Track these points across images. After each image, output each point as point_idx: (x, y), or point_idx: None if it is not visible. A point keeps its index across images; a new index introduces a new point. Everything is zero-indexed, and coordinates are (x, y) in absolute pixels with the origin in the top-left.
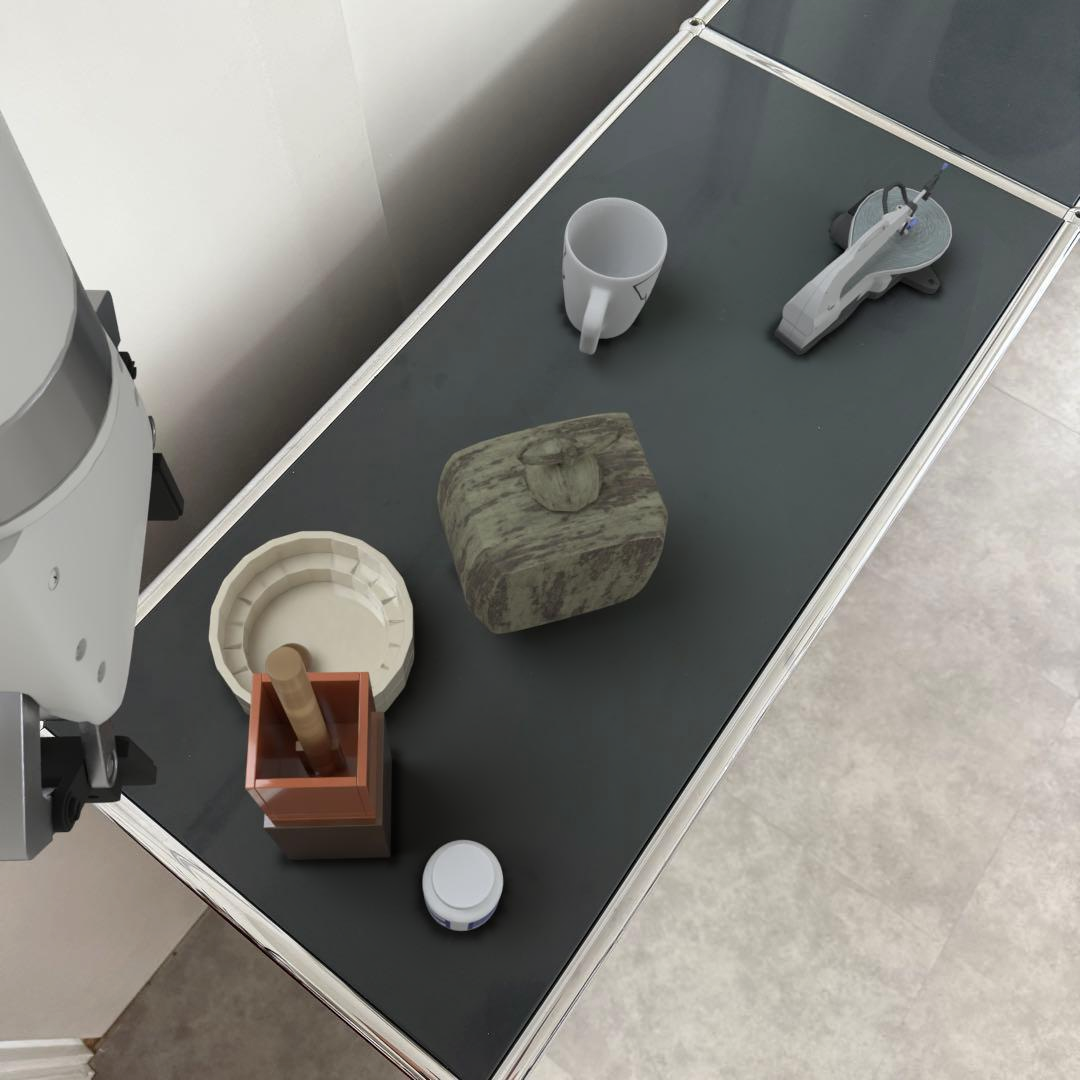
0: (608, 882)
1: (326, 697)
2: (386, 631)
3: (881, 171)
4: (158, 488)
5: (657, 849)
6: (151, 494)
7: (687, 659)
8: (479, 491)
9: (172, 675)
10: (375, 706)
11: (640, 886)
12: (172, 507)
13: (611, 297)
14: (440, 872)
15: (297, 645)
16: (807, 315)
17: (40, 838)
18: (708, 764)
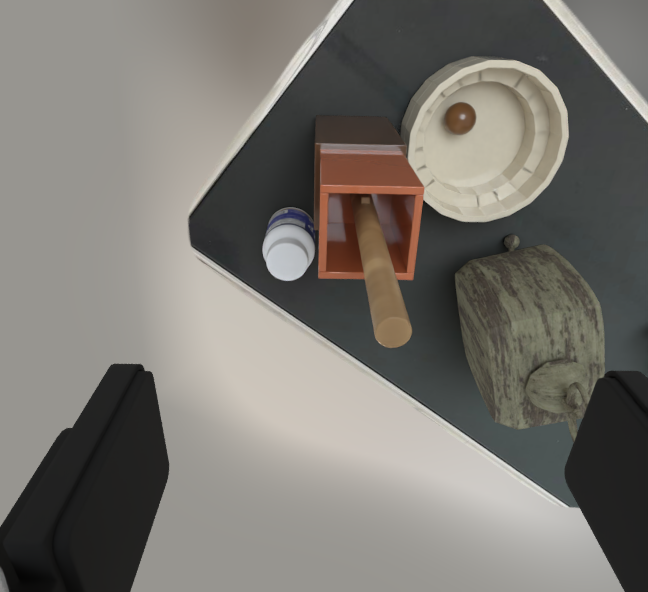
0: (294, 310)
1: (402, 225)
2: (474, 184)
3: None
4: (627, 584)
5: (312, 336)
6: (619, 547)
7: (423, 361)
8: (560, 323)
9: (468, 10)
10: None
11: (292, 326)
12: (585, 515)
13: None
14: (288, 248)
15: (472, 125)
16: None
17: None
18: (359, 365)
